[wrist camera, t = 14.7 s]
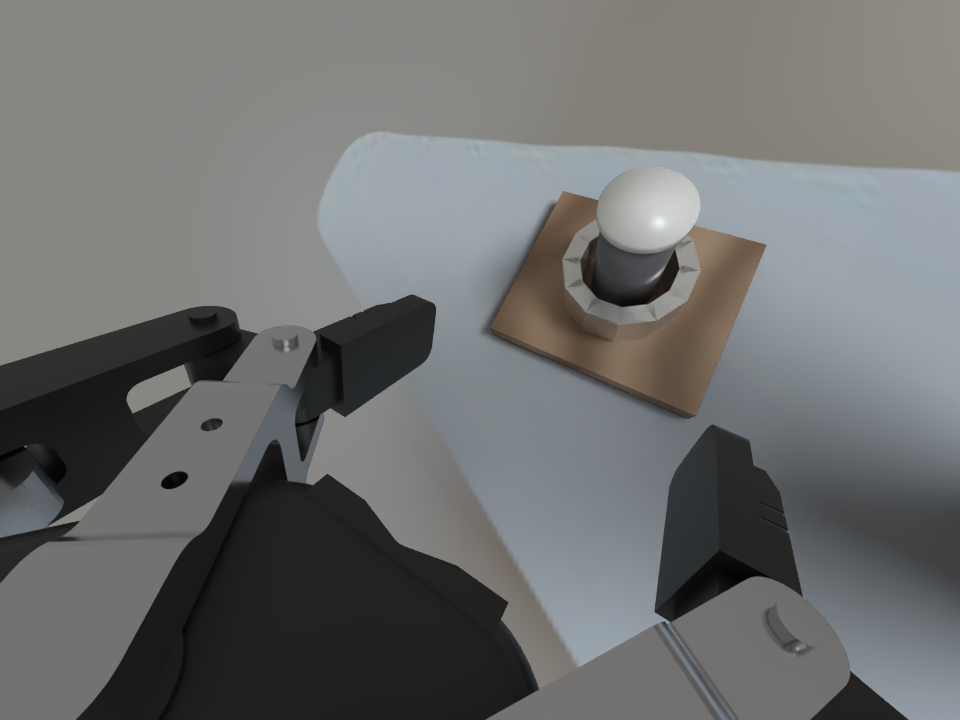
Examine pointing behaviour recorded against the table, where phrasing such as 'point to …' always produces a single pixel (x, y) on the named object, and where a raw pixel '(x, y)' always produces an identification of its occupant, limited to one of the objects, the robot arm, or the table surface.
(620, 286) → the white capped grey cylinder
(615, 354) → the mount board
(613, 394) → the table surface
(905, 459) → the table surface
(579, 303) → the faceted white ring
